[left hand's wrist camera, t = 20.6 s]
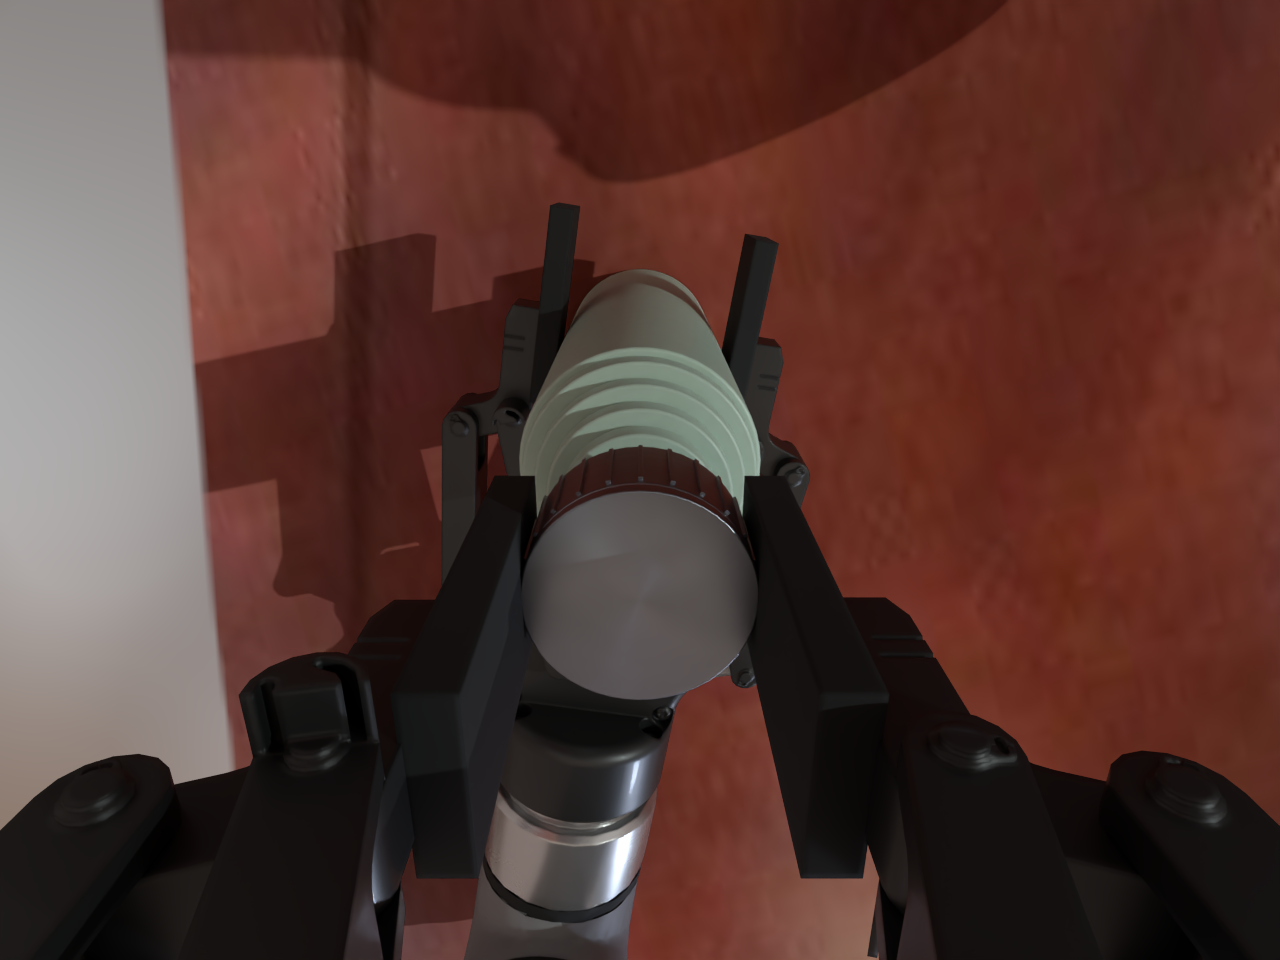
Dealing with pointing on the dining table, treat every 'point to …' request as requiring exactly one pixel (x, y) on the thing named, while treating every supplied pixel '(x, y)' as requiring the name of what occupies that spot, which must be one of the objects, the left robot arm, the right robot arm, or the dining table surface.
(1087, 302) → the dining table surface
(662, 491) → the cap
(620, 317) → the bottle
